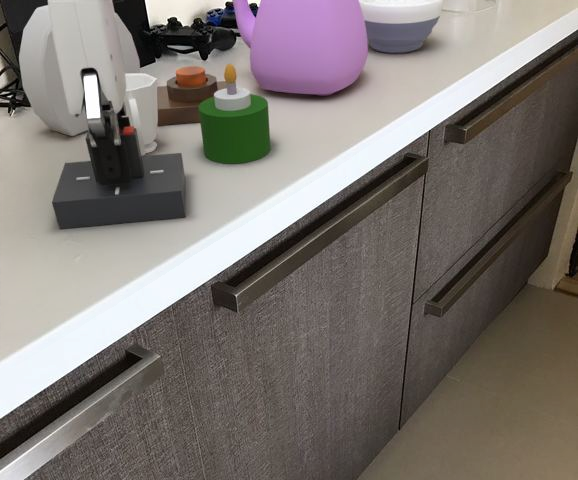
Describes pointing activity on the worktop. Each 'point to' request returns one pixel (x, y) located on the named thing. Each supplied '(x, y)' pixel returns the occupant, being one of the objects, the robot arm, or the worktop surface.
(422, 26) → the bowl
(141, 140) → the cup
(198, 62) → the worktop surface
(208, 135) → the candle
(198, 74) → the power button
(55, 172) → the worktop surface
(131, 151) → the block
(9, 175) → the worktop surface
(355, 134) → the worktop surface
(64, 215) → the dial panel
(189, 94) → the switch block
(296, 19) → the teapot
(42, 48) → the soap bottle
